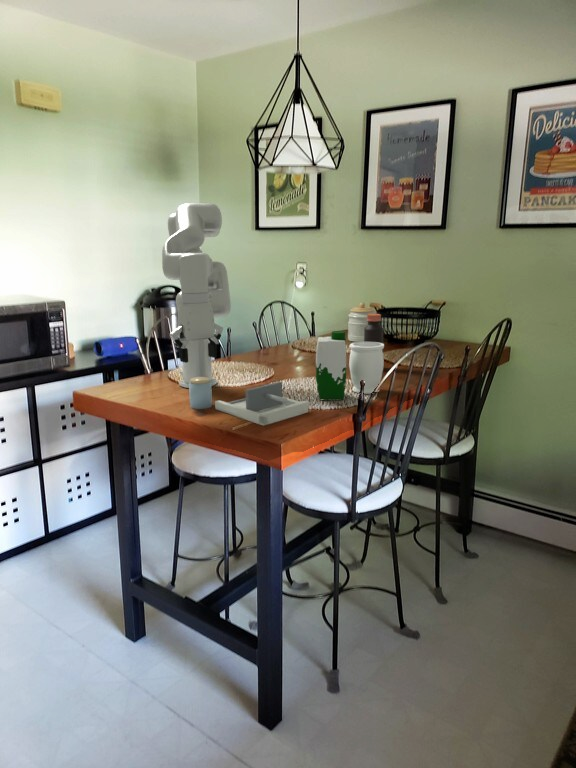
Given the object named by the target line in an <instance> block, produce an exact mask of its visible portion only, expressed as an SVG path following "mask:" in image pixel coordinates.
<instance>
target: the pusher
mask: <svg viewBox="0 0 576 768" xmlns="http://www.w3.org/2000/svg"><path fill="white" fill-rule="evenodd" d="M283 397H284V396H283V382H282V381H276V382H273V383H268V384H264V385H260V386H255V387H252V388H247V389H245V398H246V409H248V410H251V411H254V412H257V411H261V410H264V409H268V408H271V407H275V406H279V405H282V404H283V402H284V403H286V402H287V399H286V398H287V397H285V398H283Z"/></svg>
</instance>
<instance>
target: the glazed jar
mask: <svg viewBox="0 0 576 768" xmlns="http://www.w3.org/2000/svg"><path fill="white" fill-rule="evenodd" d="M188 391H189V392H188V393H189V407H190V408H191V409H195V410H204V409H209V408H212V406H213V395H212V393H213V392H212V386H211V381H210V378H208V377H194V378H191V379H190V382H189V388H188Z"/></svg>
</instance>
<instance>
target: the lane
mask: <svg viewBox="0 0 576 768" xmlns="http://www.w3.org/2000/svg"><path fill="white" fill-rule="evenodd" d="M283 398H286V399H287V402H286V403H284V402H283V404H282V405H279V406H275V407H271V408H268V409H264V410H261V411H257V412H254V411H251V410H248V409H246V397H244V398H241V399H240V398H239V399H236V400H232V401H228V402H226V401H223V400H220V399H219V400H215V401H214V406H215V407H214V408H215V410H217V411H220V412H222V413H226V414H227V415H231V416H234V417H236V418H240V419H242V420H246V421H249V422H251V423H255V424H256V425H261V426H267V425H271V424H274V423H278V422H280V421H284V420H287V419H291V418H294V417H297V416H300V415H303V414H306V413H309V401H307V400H301V401H299V400H296V399H292V398H290V397H289V398H288V397H285V396H283Z"/></svg>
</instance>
